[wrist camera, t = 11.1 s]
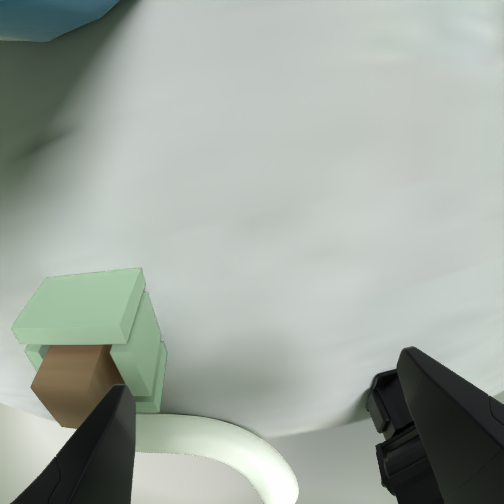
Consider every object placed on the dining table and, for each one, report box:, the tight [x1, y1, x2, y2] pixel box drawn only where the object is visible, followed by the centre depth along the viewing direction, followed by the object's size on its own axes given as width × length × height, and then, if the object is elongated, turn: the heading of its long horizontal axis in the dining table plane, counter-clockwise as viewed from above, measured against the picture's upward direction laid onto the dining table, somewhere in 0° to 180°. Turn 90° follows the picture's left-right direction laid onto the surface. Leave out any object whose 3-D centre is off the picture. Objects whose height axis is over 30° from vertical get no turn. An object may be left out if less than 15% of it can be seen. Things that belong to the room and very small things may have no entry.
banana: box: [135, 414, 299, 504], centre depth 22 cm, size 5×19×15 cm, turn 72°
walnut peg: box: [30, 344, 125, 429], centre depth 18 cm, size 4×4×9 cm
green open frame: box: [11, 268, 167, 413], centre depth 19 cm, size 8×8×6 cm
